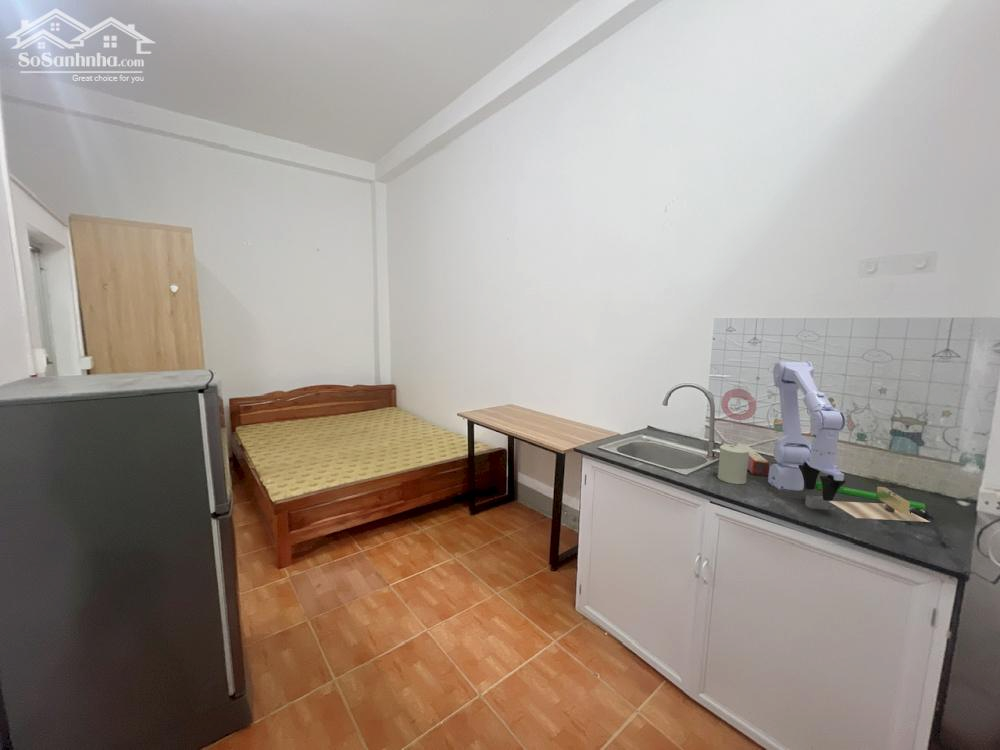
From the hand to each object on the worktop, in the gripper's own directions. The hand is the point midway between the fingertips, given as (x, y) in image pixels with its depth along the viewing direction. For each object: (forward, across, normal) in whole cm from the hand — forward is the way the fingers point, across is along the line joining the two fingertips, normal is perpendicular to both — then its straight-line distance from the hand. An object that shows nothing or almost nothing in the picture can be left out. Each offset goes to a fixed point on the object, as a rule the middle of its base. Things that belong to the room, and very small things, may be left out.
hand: (818, 494), depth 117 cm
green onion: (+6, +10, -19) cm, 22 cm away
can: (+6, +24, +13) cm, 28 cm away
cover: (+6, 0, -1) cm, 6 cm away
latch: (+2, -1, -20) cm, 20 cm away
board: (+5, -1, -16) cm, 17 cm away
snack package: (+6, +39, -1) cm, 39 cm away
